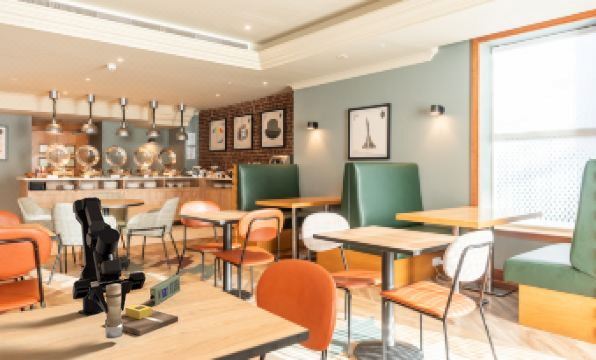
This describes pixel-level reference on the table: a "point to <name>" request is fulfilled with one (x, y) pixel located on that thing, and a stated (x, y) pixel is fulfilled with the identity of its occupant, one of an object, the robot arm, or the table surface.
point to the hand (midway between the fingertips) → (115, 311)
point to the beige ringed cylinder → (113, 311)
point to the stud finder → (138, 311)
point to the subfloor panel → (146, 322)
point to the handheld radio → (164, 290)
